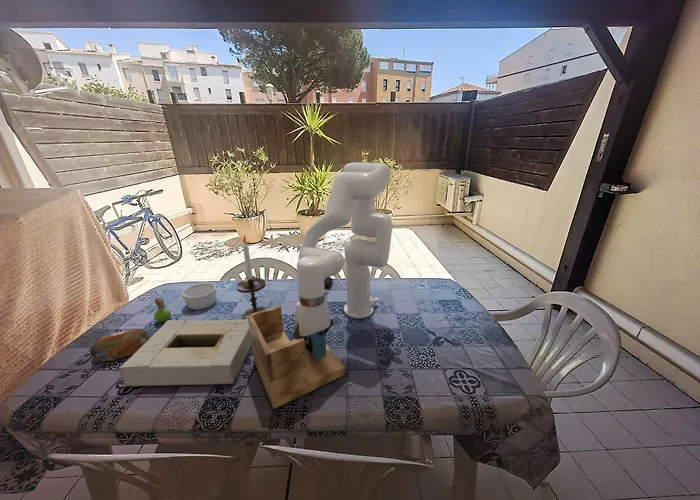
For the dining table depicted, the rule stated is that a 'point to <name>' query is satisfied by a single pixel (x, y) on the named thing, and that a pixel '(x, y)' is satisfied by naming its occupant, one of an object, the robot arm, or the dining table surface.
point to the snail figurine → (161, 311)
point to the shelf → (287, 359)
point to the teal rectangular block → (318, 345)
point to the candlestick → (250, 283)
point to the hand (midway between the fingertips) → (314, 347)
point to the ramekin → (200, 296)
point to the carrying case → (327, 282)
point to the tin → (119, 344)
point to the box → (190, 354)
